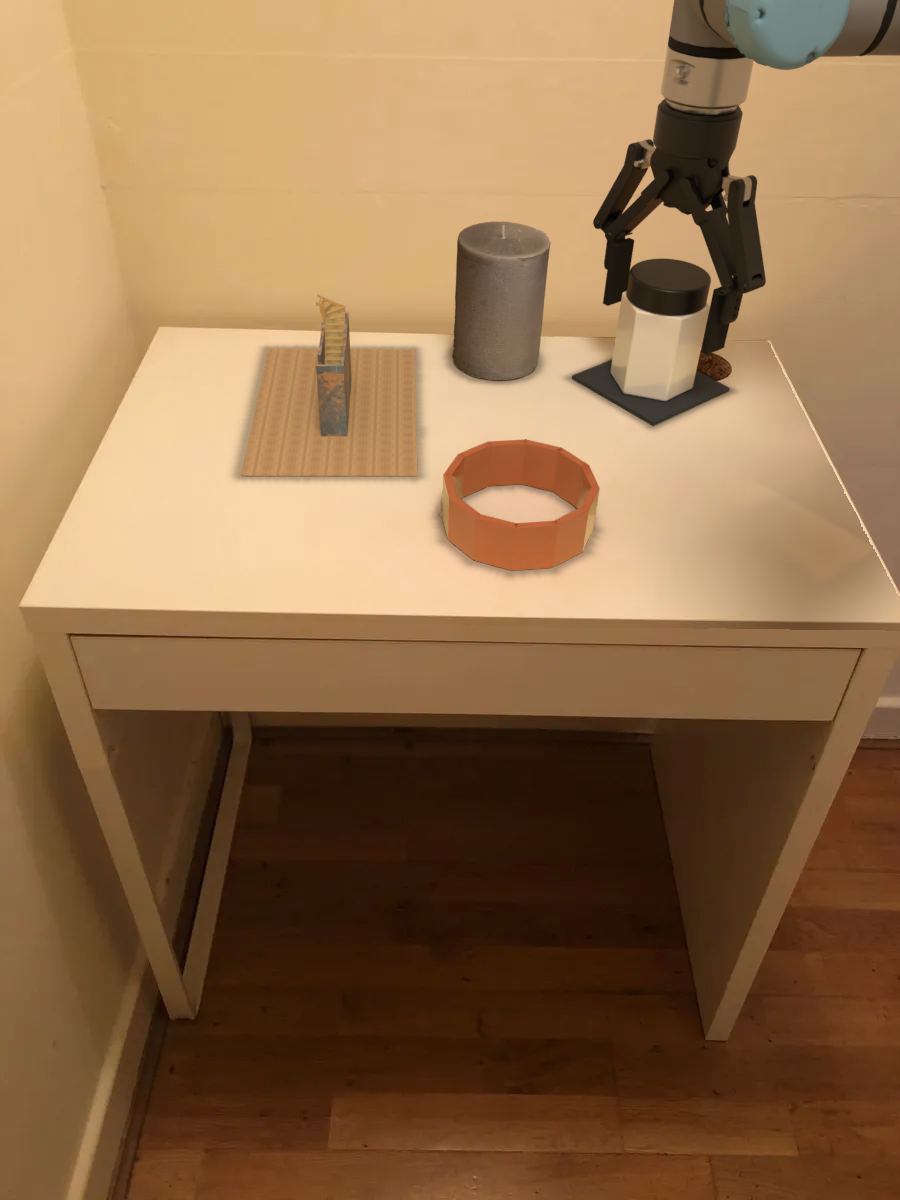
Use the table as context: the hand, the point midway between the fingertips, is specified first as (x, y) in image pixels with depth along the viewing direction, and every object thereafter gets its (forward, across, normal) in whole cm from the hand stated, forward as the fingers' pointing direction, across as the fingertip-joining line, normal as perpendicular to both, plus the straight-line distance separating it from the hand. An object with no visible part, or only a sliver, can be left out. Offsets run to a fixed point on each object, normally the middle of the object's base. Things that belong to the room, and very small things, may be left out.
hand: (661, 325), depth 101 cm
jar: (+7, 0, 0) cm, 7 cm away
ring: (+7, +10, -28) cm, 30 cm away
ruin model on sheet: (+7, -16, -30) cm, 35 cm away
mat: (+7, 0, 0) cm, 7 cm away
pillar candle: (+7, -14, -10) cm, 19 cm away
